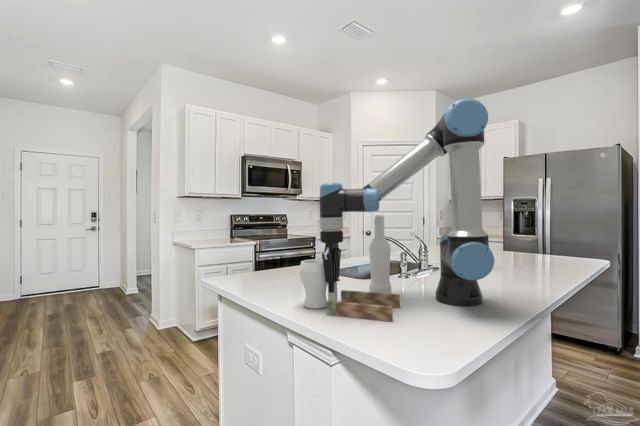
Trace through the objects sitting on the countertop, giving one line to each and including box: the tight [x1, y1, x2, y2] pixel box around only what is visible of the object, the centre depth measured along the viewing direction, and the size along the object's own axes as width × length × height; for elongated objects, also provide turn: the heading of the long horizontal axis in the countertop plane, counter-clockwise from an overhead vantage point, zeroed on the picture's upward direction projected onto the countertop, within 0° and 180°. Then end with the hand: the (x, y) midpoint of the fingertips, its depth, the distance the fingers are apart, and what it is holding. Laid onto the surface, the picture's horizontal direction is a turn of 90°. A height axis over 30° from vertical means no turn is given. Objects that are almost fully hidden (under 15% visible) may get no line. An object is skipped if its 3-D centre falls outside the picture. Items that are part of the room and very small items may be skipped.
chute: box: [325, 289, 401, 322], centre depth 109 cm, size 20×16×4 cm
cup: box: [299, 258, 328, 310], centre depth 115 cm, size 11×11×15 cm
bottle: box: [368, 214, 392, 294], centre depth 127 cm, size 8×8×30 cm
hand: (332, 301), depth 113 cm, fingers closed
